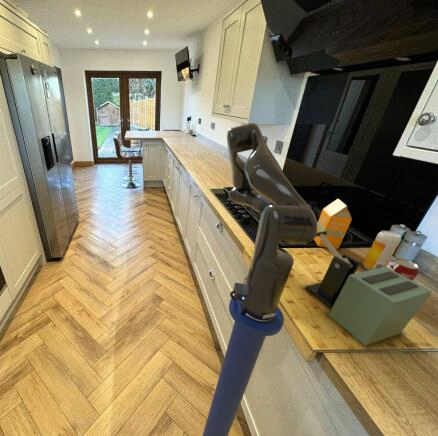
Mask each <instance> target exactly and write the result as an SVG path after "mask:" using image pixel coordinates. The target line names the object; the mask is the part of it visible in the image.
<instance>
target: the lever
mask: <svg viewBox="0 0 438 436" xmlns="http://www.w3.org/2000/svg"><path fill="white" fill-rule="evenodd" d="M324 235H327V232H326V231H324V232H317V234H316V236H318V237H319V238H320V239H321V240H322V242H323V243H324V244H325V245H326V246H327V248H326V249H328V251H330V253H331V254H332V255H333V257H334V256H337V257H338V258H340V259H342V260H344V261H345V262H347V263H349V264H350V267H349V269H350V268H352V267H353V265H352V263H351V262H350V261H349V260H348V259H347V258H344V259H343V258H342V255H341V254H340V253H339V252H338V251H337V249H335V248H334V247H333V246H332V245H331V243H330V242H329V241H328V240H327V239H326V237H325V236H324ZM316 236H315V237H316Z"/></svg>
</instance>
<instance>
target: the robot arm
mask: <svg viewBox="0 0 438 436" xmlns="http://www.w3.org/2000/svg"><path fill="white" fill-rule="evenodd" d="M226 145H227V151H228V156H229V162H230V166H231V172H232V173H231V174H232V177H231V178H232V186H233V187H232V188H231V189H230V190H229V192H228V197H229V199H230V200H231V201H232V202H233V203H235V204H237V205H241V206H248V207H249V208H251V209H253V210H254V211H255V212H256V213H258V214H260V218H259V222H258V227H257V232H256V237H255V241H254V248H253V254H252V258H251V262H250V266H249V269H248V272H247V275H245V276H244V279H243V282H242V283H239V282H234V285H233V290H231V291H230V292H229V296H230V299H231V298H232V299H233V300H234V301H236V300H239V307H240V312H241V315H244V316H246V317H248V318H249V319H251V320H253V321H255V322H259V323H268V322H270V321H272V319H273V317H274V316H275V314H276V313H275V311H276V308H277V306H278V305H279V303H280V300H281V298H282V295H283V292H284V289H285V288H286V285H287V282H288V280H289V277H290V275H291V274H290V273H291V272H292V269H293V266H294V263H295V260H294V259H295V258H294V257H293V255H292V254H291V253H290V252H289V251H287V250H286V249H284V248H282V247H280V246H279V244H307V243H309V242H312V241H314V238H315V236H316V234H317V229H318V227H317V223H318V220H317V218H316V216H315V213H314V211H313V209H312V208H311V207H310V206H309V205H308V203H307V202H306V201H305V199H303V197H302V196H301V195H300V194H299V193H298V192H297V190H296V189H295V188H294V186H293V185H292V183H291V182H290V180H289V179H288V177H287V176H286V174H285V173H284V171H283V168H282V167H281V165H280V164H279V162H278V160H277V159H276V157H275V156H274V154H273V153H272V151H271V150H270V148H269V147H268V144H267V142H266V141H265V138H264V135H263V133H262V131H261V129H260V127H259V125H258V124H257V123H255V122H249V123H244V124H242V125H237V126H234V127H231V128H229V129H228V130H227V133H226ZM247 151H251V153H250V154H249V156H247V157H248V158H247V159H246V161H244V160H243V159H242V158H241V157H240V156H239V154H238V153H244V152H247ZM233 295H235V297H234V296H233ZM278 307H279V306H278Z"/></svg>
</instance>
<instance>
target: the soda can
mask: <svg viewBox="0 0 438 436" xmlns="http://www.w3.org/2000/svg"><path fill="white" fill-rule="evenodd" d="M386 267H387V268H389V269H391V270H393V271H394V272H396V273H398V274H400V275H402V276H404V277H406V278H408V279H410V280H412V281H414V280H415V279H416V278H417V276H418V275H419V270H418V269H419V267H420V266H419V265H418V264H417V263H415V262H414V261H412V260H409V259H406V258H403V257H394V258H393V259H392V260H389V262H388V263H387V265H386Z"/></svg>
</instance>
